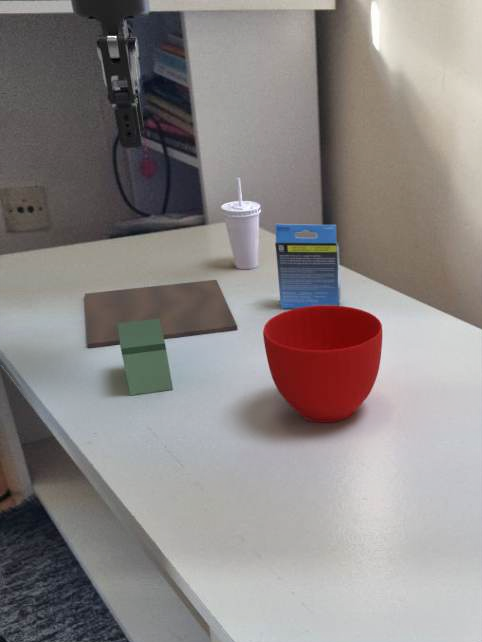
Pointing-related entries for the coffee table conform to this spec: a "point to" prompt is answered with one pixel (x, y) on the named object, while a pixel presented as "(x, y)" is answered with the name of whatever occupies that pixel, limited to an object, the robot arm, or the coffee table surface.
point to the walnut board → (158, 310)
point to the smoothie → (243, 230)
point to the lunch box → (144, 356)
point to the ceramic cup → (324, 359)
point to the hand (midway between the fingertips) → (133, 139)
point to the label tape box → (307, 266)
